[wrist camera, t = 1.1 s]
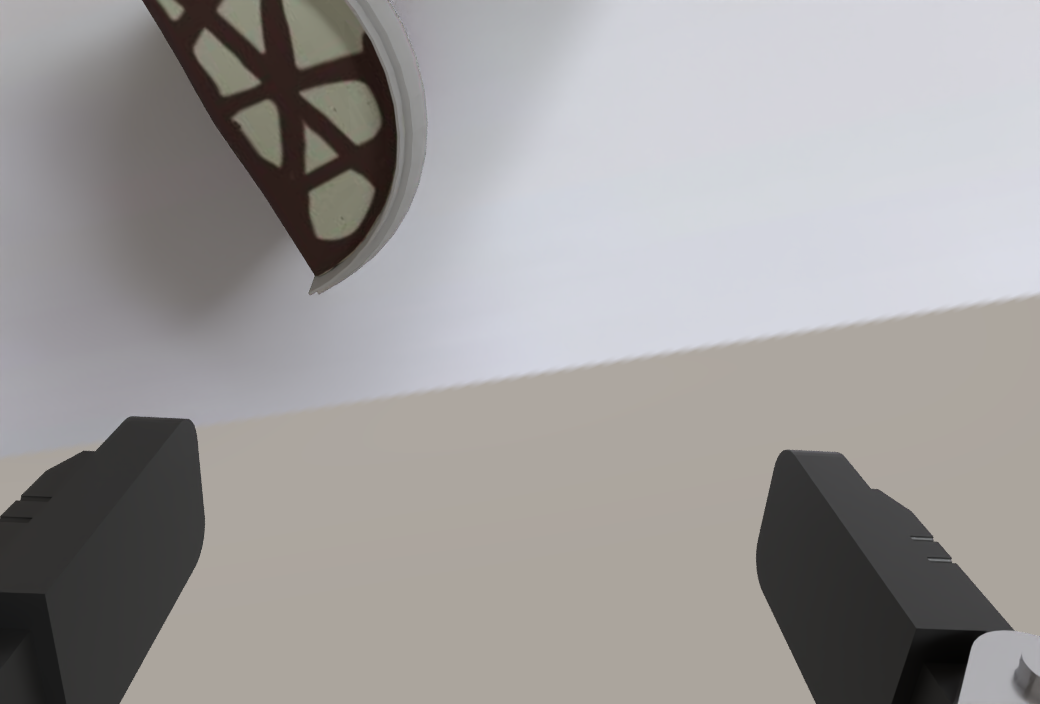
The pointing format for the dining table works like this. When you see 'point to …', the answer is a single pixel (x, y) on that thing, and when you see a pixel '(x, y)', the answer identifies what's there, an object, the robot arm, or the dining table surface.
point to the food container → (312, 113)
